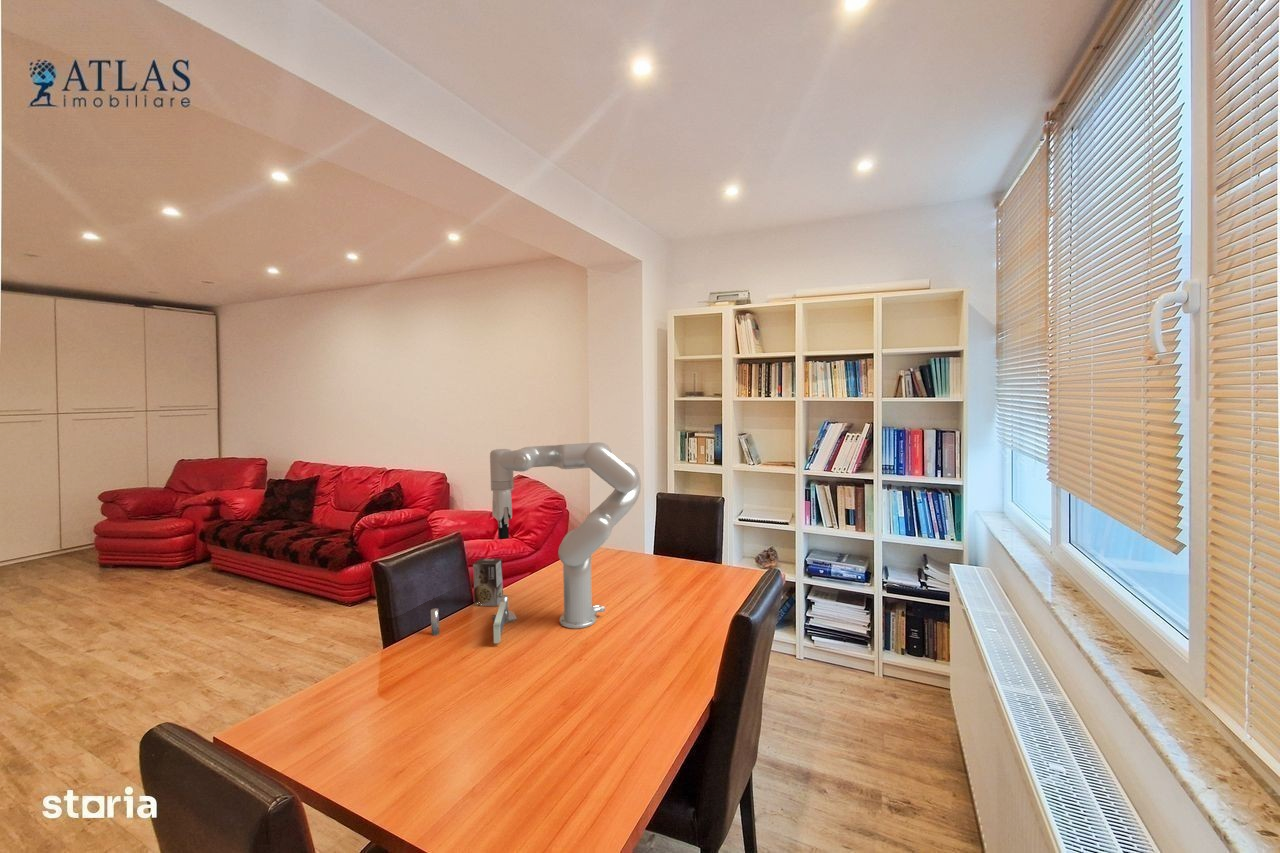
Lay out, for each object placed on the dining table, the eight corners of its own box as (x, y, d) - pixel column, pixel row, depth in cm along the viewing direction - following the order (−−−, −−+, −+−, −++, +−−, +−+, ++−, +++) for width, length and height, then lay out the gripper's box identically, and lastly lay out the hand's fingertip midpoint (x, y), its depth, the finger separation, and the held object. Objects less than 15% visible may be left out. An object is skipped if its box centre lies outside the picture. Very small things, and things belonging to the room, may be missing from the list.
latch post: (438, 631, 166) (438, 607, 165) (439, 634, 163) (438, 610, 163) (431, 633, 164) (430, 609, 164) (431, 636, 162) (431, 612, 162)
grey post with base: (512, 613, 179) (511, 591, 179) (517, 620, 173) (516, 598, 172) (492, 617, 176) (491, 595, 175) (496, 625, 170) (495, 602, 169)
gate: (501, 618, 172) (500, 601, 172) (506, 617, 172) (506, 601, 172) (493, 643, 154) (493, 625, 154) (499, 642, 155) (499, 624, 154)
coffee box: (503, 599, 191) (502, 558, 190) (497, 606, 185) (496, 564, 184) (481, 599, 192) (479, 558, 191) (473, 606, 186) (472, 563, 185)
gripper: (486, 483, 175) (488, 534, 176) (495, 489, 162) (497, 545, 163) (508, 481, 178) (509, 532, 179) (518, 487, 165) (520, 542, 166)
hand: (503, 538), depth 171 cm, fingers closed
